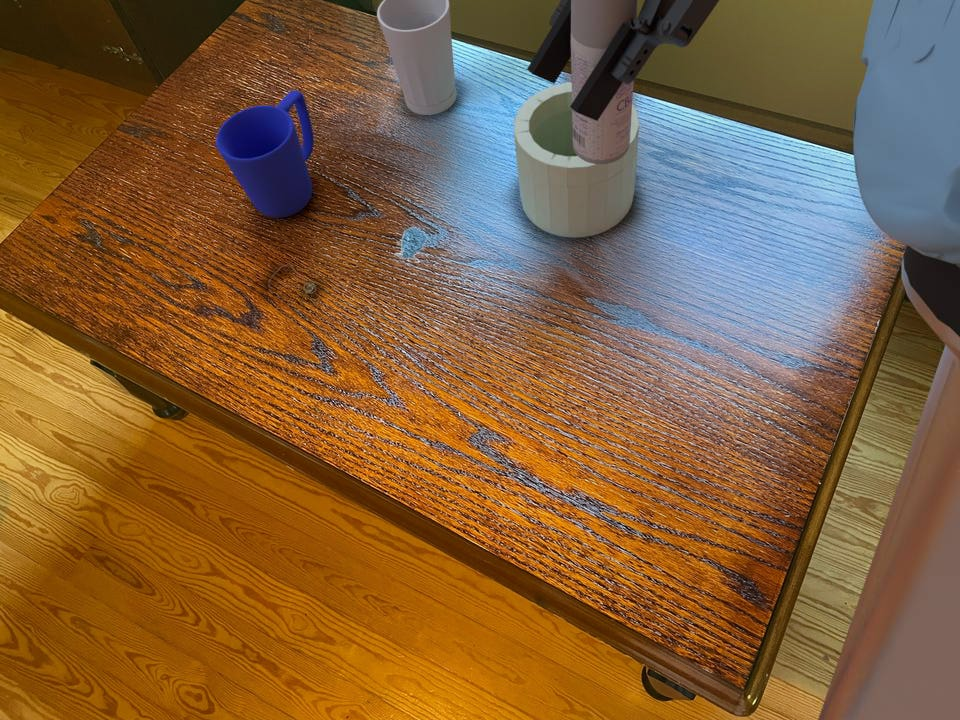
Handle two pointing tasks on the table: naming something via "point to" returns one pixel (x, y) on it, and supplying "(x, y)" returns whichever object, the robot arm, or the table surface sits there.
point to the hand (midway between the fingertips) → (562, 94)
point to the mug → (270, 155)
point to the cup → (421, 51)
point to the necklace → (304, 285)
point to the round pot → (568, 170)
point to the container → (594, 24)
